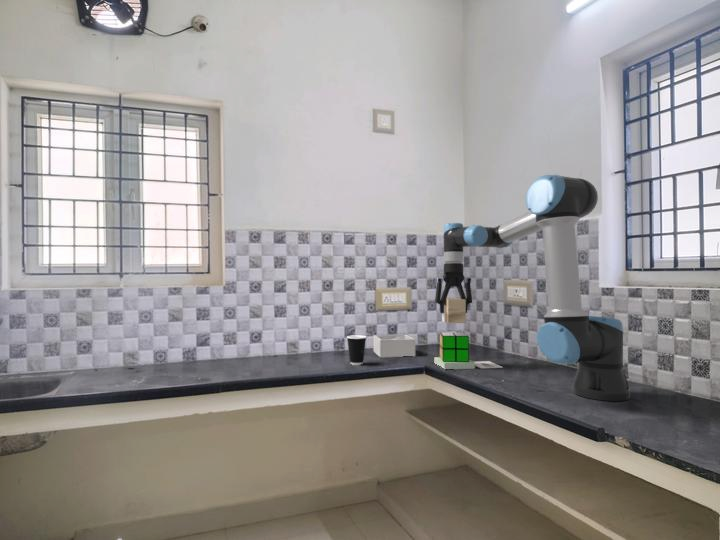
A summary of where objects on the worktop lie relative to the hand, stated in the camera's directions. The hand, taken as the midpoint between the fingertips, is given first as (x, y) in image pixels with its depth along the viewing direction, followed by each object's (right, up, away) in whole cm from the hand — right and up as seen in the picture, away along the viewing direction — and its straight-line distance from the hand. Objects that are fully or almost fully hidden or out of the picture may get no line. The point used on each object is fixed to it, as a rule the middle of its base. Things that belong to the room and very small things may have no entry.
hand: (453, 321), depth 172 cm
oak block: (0, 0, 0) cm, 0 cm away
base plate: (0, -17, 0) cm, 17 cm away
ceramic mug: (-19, -18, +25) cm, 36 cm away
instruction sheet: (+13, -17, +2) cm, 22 cm away
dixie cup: (-38, -18, +4) cm, 42 cm away
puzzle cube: (0, -15, 0) cm, 15 cm away
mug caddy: (-21, -18, +27) cm, 39 cm away
